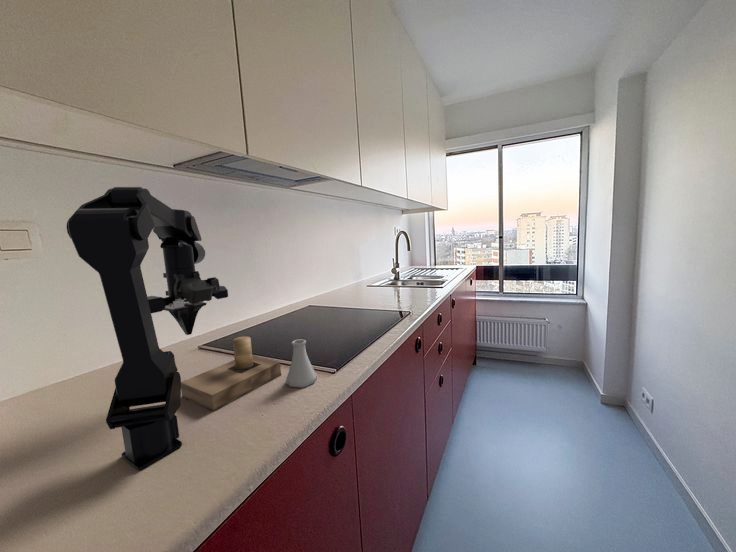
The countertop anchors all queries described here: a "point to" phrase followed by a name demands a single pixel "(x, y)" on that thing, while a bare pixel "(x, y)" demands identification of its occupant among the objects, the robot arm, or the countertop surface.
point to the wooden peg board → (228, 382)
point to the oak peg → (243, 354)
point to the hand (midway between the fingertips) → (188, 334)
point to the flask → (300, 367)
